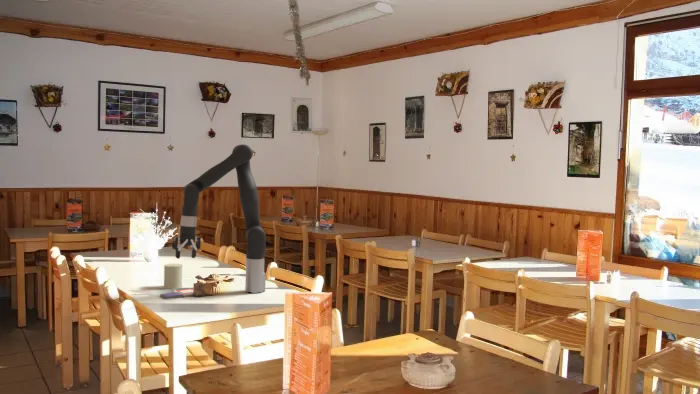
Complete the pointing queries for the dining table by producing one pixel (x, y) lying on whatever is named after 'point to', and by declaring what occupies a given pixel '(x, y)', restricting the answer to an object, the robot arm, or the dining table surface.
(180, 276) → the can
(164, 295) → the ink pad
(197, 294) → the stamp
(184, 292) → the print board
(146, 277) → the dining table surface
